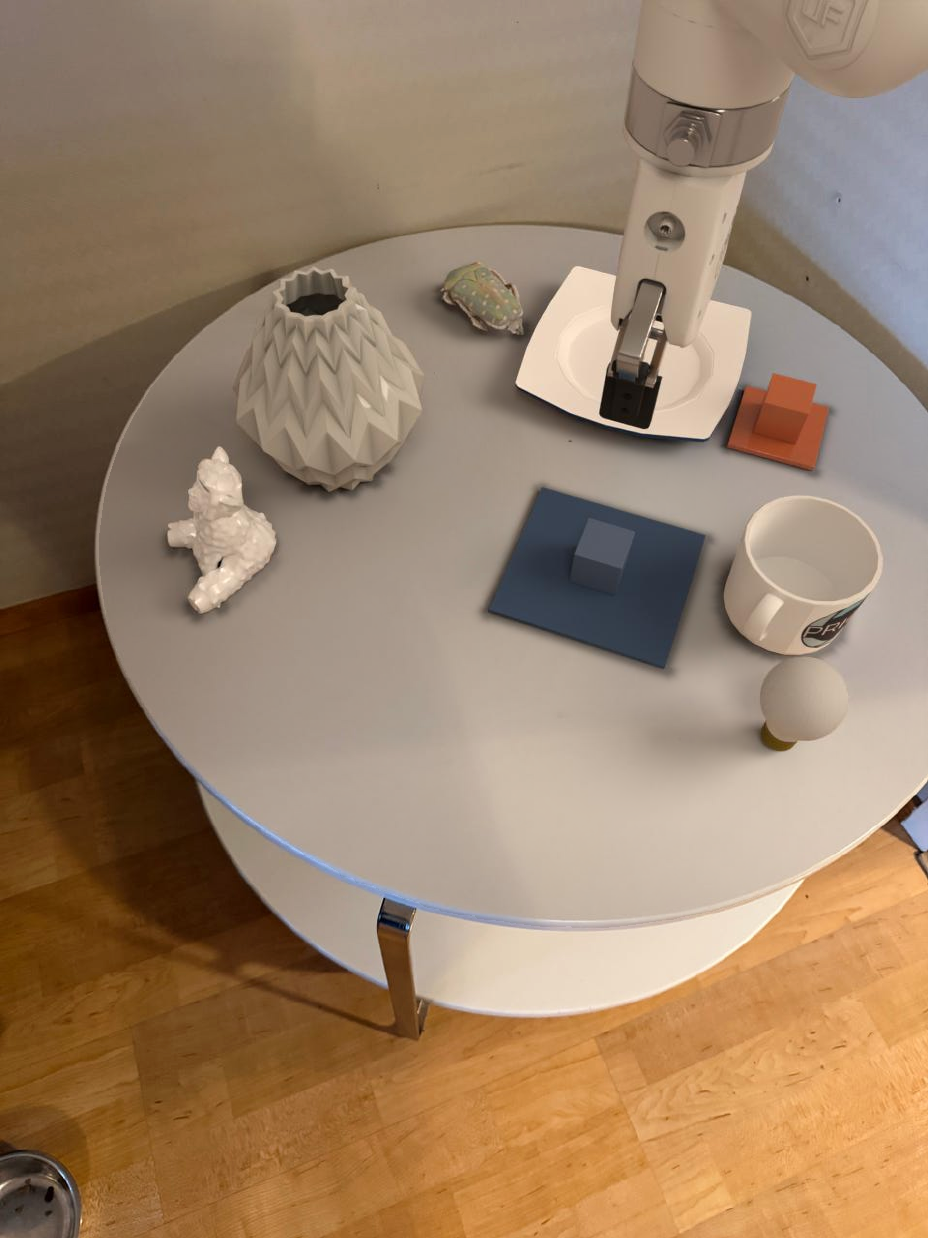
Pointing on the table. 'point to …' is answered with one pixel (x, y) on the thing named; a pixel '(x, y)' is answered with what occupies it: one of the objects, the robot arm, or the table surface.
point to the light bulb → (801, 702)
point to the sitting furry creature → (221, 533)
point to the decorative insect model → (484, 297)
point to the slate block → (601, 556)
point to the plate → (691, 376)
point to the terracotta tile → (774, 449)
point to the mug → (800, 574)
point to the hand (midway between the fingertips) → (645, 368)
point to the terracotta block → (785, 408)
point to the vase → (327, 383)
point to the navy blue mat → (614, 623)
